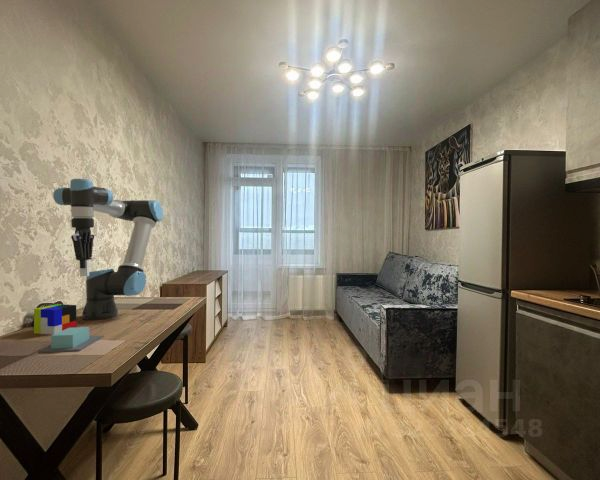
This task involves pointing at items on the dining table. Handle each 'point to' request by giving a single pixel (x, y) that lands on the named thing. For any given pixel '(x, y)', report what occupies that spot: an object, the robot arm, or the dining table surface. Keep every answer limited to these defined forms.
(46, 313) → the puzzle toy
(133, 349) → the dining table surface
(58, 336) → the teal block
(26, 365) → the dining table surface
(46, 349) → the rubber mat
